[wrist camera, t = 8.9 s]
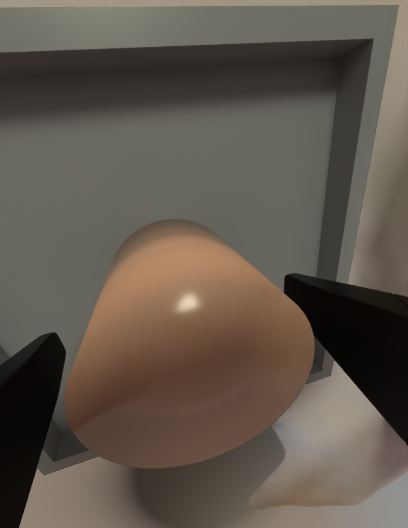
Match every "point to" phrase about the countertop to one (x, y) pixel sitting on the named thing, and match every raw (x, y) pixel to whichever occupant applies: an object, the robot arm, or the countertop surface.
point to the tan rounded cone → (184, 351)
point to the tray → (177, 150)
